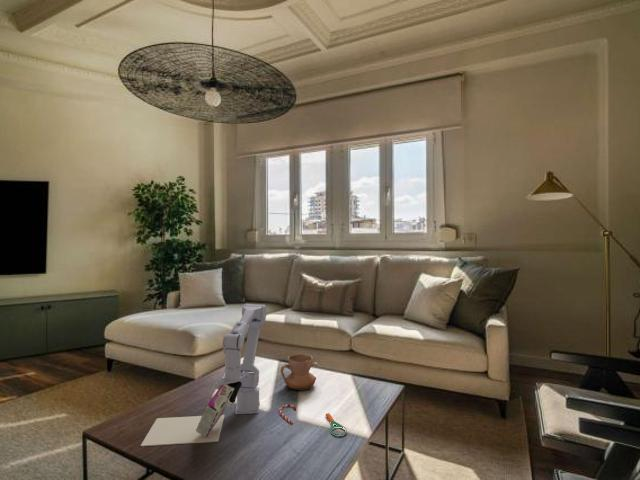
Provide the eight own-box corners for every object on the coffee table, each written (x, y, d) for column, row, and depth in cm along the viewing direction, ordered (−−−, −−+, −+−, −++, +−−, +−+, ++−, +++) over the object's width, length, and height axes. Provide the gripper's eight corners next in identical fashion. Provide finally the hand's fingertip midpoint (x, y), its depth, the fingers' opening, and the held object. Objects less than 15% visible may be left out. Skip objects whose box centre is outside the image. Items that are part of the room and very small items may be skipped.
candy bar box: (211, 407, 138) (224, 381, 130) (222, 414, 137) (235, 388, 130) (194, 431, 128) (206, 404, 120) (205, 438, 127) (219, 412, 120)
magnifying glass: (349, 436, 131) (349, 431, 131) (334, 439, 129) (334, 434, 129) (334, 416, 146) (334, 412, 146) (320, 418, 144) (320, 414, 144)
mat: (224, 415, 144) (224, 414, 144) (218, 441, 126) (218, 440, 126) (157, 419, 140) (157, 418, 140) (140, 446, 122) (140, 445, 122)
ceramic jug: (315, 379, 180) (315, 351, 180) (319, 392, 166) (319, 361, 166) (280, 381, 178) (280, 353, 178) (280, 394, 164) (280, 363, 163)
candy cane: (283, 423, 137) (276, 405, 151) (283, 426, 137) (276, 408, 151) (303, 420, 139) (294, 403, 154) (303, 424, 139) (294, 406, 154)
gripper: (241, 358, 142) (240, 392, 142) (209, 368, 130) (209, 405, 130) (252, 362, 138) (252, 397, 138) (221, 373, 126) (221, 411, 126)
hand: (232, 401), depth 134 cm, fingers closed
